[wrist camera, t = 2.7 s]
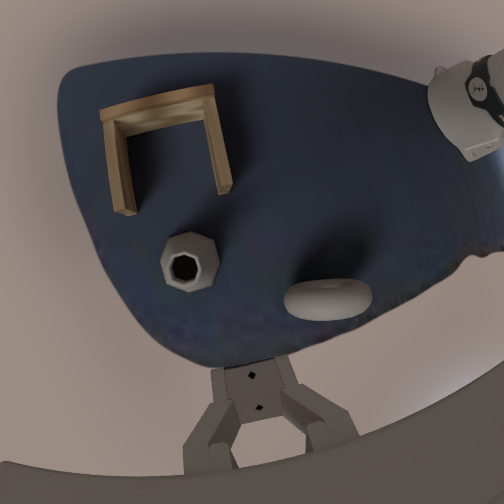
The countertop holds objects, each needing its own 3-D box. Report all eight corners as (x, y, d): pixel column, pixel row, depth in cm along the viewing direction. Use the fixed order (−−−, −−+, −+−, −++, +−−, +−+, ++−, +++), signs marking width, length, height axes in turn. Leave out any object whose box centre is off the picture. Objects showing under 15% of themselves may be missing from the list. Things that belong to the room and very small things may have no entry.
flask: (161, 230, 35) (144, 225, 25) (221, 232, 36) (227, 228, 26) (159, 290, 35) (143, 308, 25) (219, 293, 36) (224, 311, 27)
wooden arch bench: (210, 109, 35) (212, 83, 28) (228, 193, 36) (233, 181, 29) (116, 131, 34) (99, 110, 27) (128, 216, 34) (111, 210, 28)
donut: (347, 273, 39) (389, 282, 29) (348, 299, 39) (389, 315, 29) (273, 281, 37) (297, 295, 27) (275, 309, 37) (299, 331, 28)
